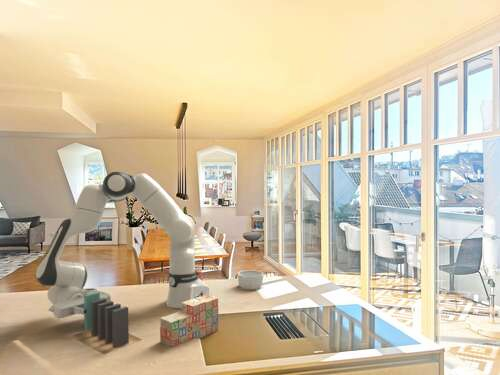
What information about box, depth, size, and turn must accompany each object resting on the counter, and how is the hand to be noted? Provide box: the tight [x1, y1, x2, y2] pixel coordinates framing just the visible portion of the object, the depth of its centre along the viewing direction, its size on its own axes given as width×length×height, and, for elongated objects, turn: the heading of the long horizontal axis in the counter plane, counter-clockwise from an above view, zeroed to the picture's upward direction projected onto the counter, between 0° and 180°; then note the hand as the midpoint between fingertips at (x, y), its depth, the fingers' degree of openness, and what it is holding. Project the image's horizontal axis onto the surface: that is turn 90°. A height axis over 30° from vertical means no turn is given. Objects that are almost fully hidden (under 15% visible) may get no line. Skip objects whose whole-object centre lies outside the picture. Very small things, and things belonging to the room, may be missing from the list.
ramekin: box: [237, 269, 264, 291], centre depth 198 cm, size 13×13×7 cm
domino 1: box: [83, 292, 100, 331], centre depth 140 cm, size 5×2×12 cm, turn 140°
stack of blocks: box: [159, 295, 219, 348], centre depth 137 cm, size 21×6×12 cm, turn 139°
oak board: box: [70, 329, 143, 355], centre depth 134 cm, size 14×22×1 cm, turn 50°
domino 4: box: [105, 303, 122, 344], centre depth 131 cm, size 5×2×12 cm, turn 140°
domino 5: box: [112, 306, 130, 348], centre depth 128 cm, size 5×2×12 cm, turn 140°
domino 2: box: [91, 298, 107, 337], centre depth 137 cm, size 5×2×12 cm, turn 140°
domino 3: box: [98, 300, 115, 340], centre depth 134 cm, size 5×2×12 cm, turn 140°
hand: (93, 309), depth 139 cm, fingers closed on domino 1, 5 cm apart
